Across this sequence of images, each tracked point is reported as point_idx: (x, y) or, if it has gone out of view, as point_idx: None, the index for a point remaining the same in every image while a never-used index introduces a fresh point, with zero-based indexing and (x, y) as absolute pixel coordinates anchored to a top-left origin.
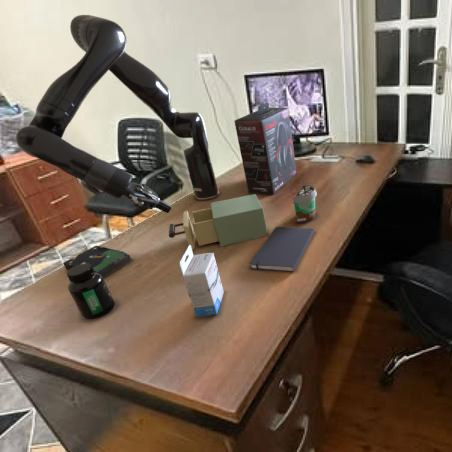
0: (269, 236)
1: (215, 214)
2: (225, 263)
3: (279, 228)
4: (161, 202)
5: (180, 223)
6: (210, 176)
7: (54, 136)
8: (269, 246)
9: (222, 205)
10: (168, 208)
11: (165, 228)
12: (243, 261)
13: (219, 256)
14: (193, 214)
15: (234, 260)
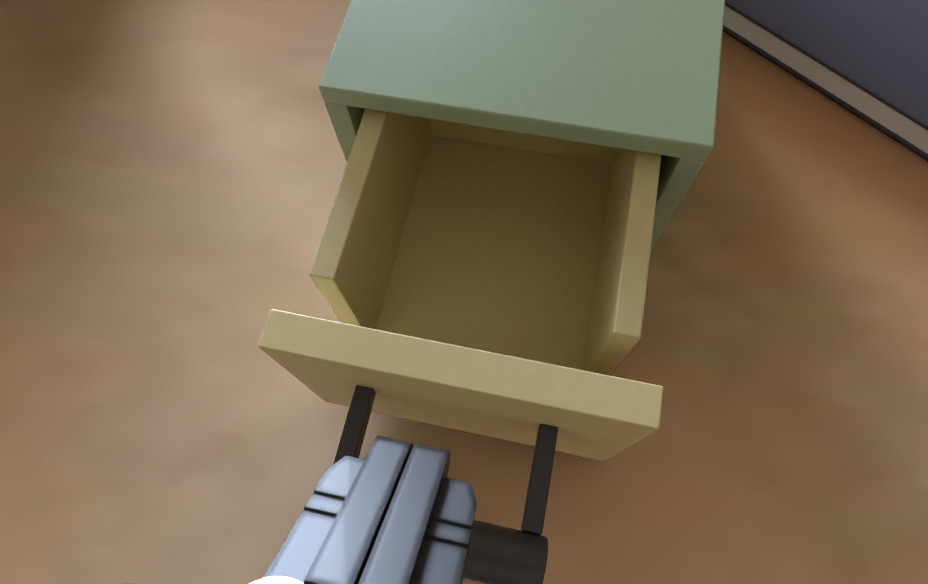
0: (753, 15)
1: (629, 113)
2: (881, 308)
3: None
4: (409, 575)
5: (347, 432)
6: None
7: None
8: (877, 50)
9: (464, 25)
10: (473, 494)
11: (30, 556)
12: (907, 216)
13: (770, 315)
14: (343, 281)
15: (869, 254)
